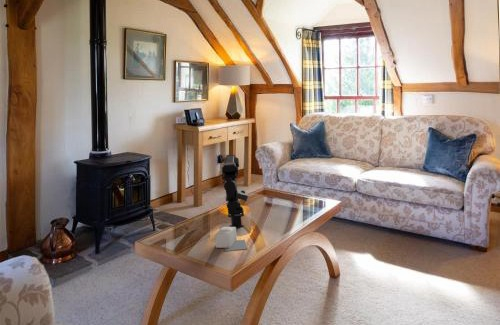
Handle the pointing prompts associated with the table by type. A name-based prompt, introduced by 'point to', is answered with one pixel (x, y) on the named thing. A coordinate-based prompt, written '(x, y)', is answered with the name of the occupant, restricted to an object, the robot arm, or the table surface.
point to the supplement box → (225, 237)
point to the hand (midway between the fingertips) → (233, 217)
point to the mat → (237, 245)
